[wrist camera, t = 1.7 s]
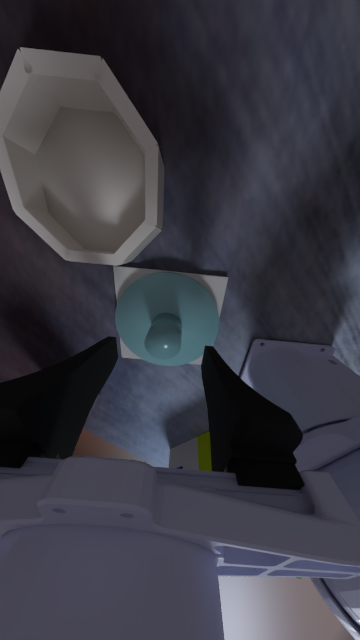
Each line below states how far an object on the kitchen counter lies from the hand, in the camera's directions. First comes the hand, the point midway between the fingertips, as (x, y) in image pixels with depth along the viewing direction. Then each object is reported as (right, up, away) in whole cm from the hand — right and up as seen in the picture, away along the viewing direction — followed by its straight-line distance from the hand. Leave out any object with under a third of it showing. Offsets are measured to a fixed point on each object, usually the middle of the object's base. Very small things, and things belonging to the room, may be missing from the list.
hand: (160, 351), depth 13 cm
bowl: (-5, +13, 0) cm, 14 cm away
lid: (0, +2, +5) cm, 5 cm away
